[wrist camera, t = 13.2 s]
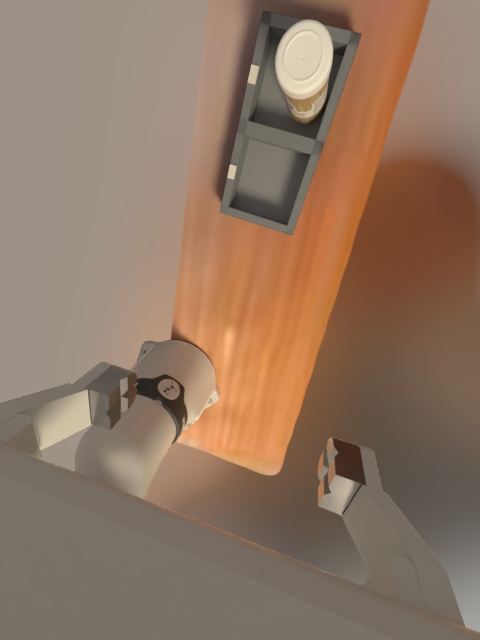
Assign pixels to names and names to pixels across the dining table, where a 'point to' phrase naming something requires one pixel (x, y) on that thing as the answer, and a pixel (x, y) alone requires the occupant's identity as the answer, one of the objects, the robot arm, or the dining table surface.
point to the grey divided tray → (279, 134)
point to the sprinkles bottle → (305, 69)
